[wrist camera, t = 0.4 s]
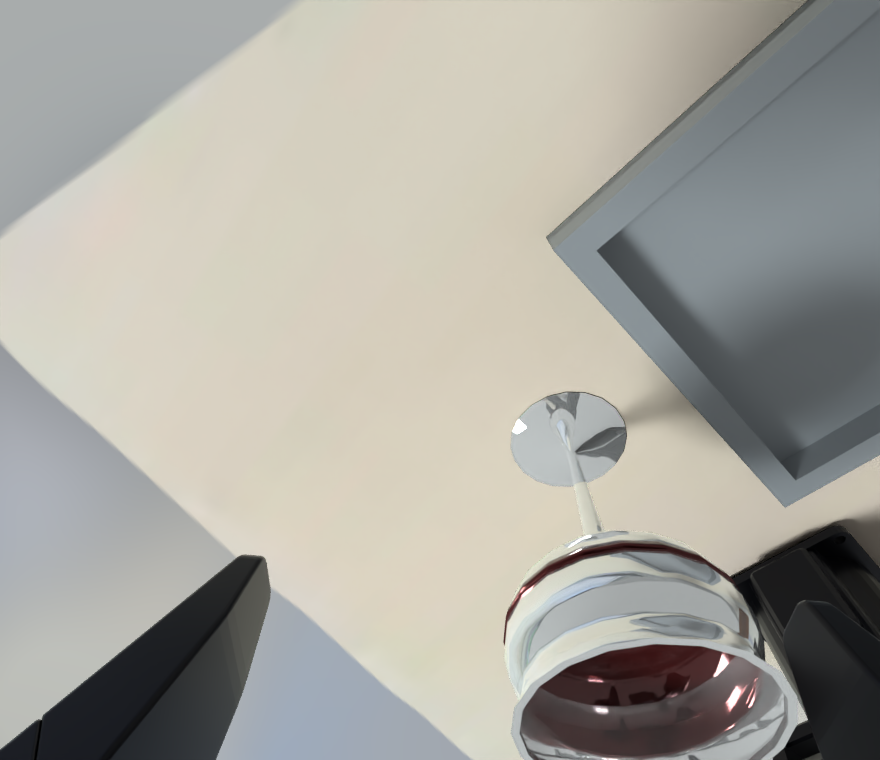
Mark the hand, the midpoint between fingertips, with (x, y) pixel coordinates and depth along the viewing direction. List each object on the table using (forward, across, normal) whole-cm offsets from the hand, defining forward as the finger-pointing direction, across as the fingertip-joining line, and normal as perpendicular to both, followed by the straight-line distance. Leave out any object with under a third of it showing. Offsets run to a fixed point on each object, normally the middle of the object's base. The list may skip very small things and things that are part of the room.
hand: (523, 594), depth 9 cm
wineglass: (+14, -3, +6) cm, 15 cm away
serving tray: (+13, -12, -4) cm, 18 cm away
